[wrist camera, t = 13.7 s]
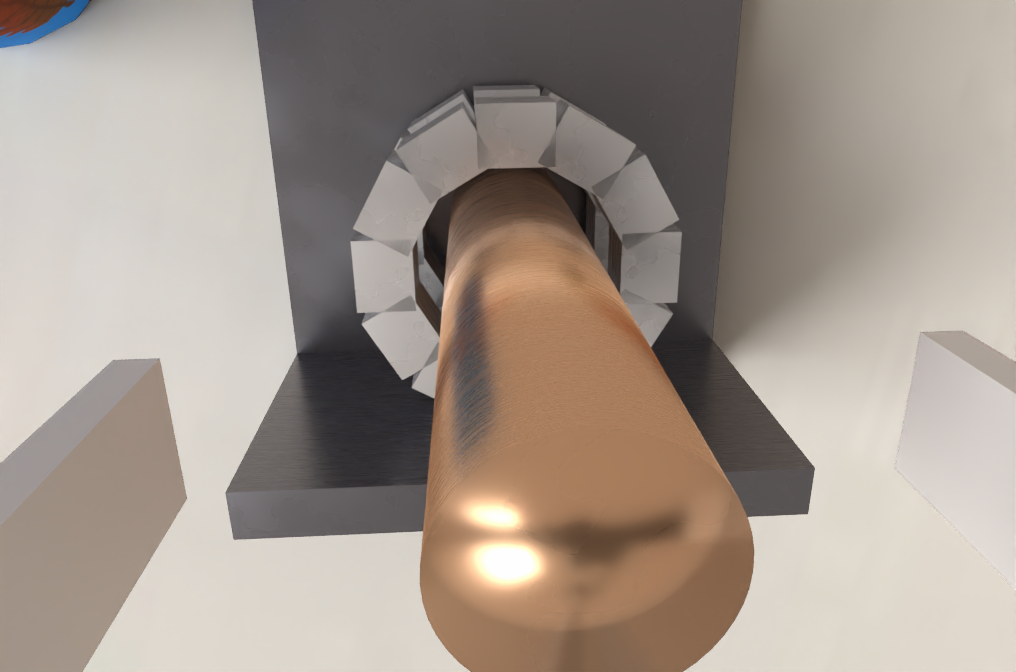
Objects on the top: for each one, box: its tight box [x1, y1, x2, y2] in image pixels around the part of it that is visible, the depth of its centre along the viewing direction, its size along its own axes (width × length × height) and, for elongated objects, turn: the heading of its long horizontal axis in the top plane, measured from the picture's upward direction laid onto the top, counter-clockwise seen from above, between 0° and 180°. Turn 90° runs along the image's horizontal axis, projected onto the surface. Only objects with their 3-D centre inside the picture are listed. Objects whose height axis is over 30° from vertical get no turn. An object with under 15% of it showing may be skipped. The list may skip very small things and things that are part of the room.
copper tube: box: [420, 167, 754, 672], centre depth 18 cm, size 4×4×20 cm
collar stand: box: [226, 0, 815, 540], centre depth 24 cm, size 18×16×10 cm
